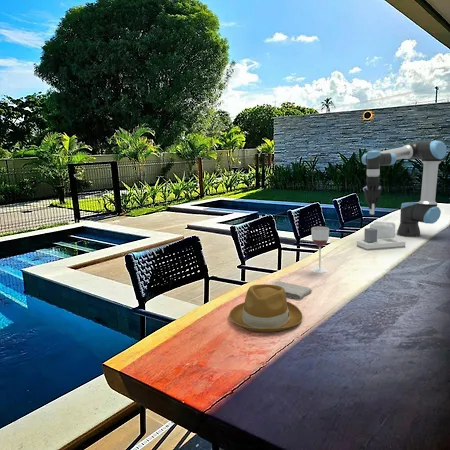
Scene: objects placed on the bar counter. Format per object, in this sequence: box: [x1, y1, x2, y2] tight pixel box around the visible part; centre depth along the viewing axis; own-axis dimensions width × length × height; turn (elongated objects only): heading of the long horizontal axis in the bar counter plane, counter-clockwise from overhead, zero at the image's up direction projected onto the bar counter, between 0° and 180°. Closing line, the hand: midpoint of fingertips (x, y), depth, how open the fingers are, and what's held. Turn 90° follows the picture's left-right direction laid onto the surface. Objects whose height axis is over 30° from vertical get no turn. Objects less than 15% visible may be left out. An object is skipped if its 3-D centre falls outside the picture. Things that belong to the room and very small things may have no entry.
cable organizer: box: [369, 220, 396, 239], centre depth 268 cm, size 15×11×12 cm
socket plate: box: [356, 237, 406, 251], centre depth 250 cm, size 26×12×4 cm, turn 101°
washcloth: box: [271, 280, 313, 300], centre depth 175 cm, size 12×18×3 cm, turn 52°
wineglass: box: [310, 226, 330, 274], centre depth 203 cm, size 9×10×22 cm
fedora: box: [229, 283, 303, 333], centre depth 147 cm, size 27×29×12 cm
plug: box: [363, 227, 377, 243], centre depth 249 cm, size 5×6×10 cm
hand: (371, 213), depth 248 cm, fingers closed
